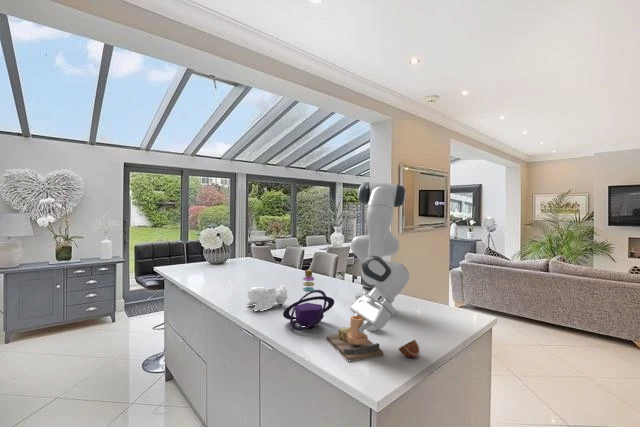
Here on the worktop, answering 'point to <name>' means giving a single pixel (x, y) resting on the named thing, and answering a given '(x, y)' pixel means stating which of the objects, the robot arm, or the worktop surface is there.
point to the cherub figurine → (266, 297)
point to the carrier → (353, 346)
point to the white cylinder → (371, 328)
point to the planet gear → (356, 332)
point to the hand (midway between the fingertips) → (355, 328)
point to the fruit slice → (410, 349)
